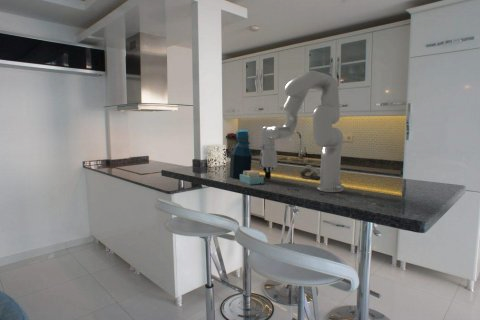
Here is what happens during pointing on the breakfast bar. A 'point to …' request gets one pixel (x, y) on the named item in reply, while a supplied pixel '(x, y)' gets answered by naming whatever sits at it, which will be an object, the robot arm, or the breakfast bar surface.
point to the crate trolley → (251, 173)
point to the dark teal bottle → (240, 155)
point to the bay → (251, 179)
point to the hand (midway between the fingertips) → (267, 178)
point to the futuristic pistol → (314, 173)
